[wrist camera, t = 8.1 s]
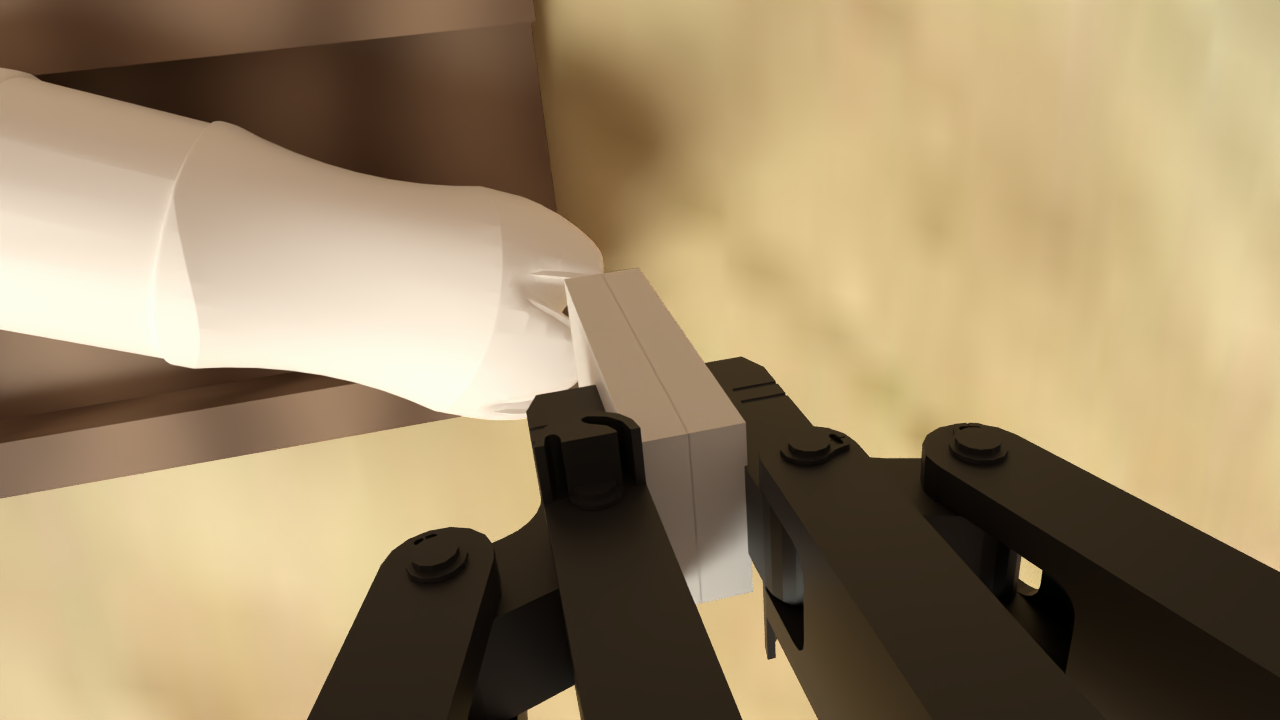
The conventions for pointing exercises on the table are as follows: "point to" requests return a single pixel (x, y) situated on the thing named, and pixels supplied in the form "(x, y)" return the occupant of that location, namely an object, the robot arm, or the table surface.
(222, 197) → the water bottle
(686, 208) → the table surface
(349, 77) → the walnut cradle
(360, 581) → the table surface
